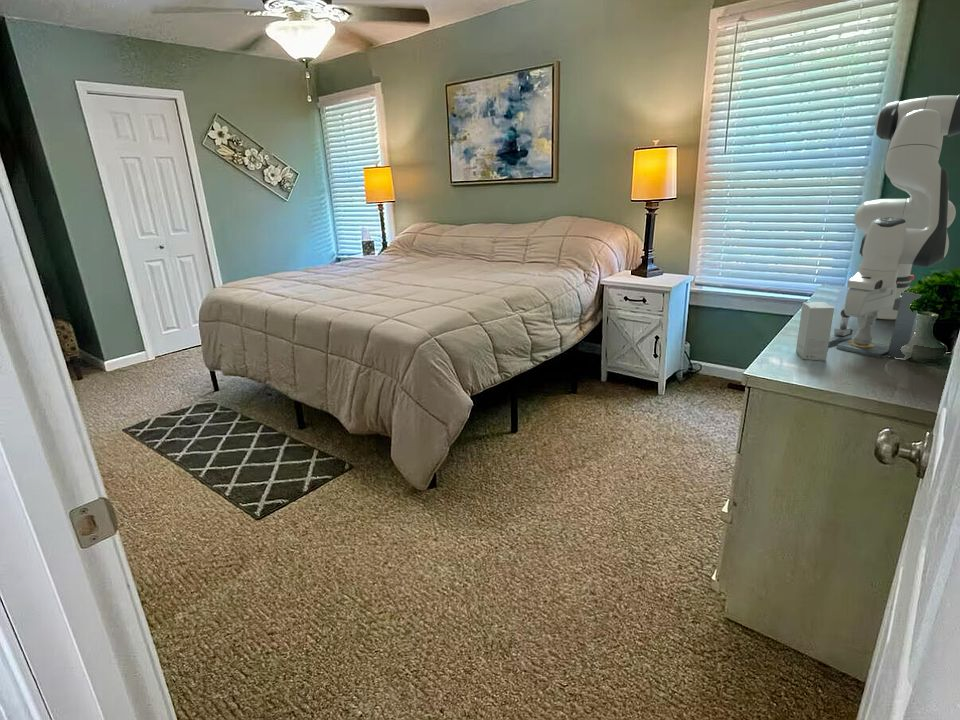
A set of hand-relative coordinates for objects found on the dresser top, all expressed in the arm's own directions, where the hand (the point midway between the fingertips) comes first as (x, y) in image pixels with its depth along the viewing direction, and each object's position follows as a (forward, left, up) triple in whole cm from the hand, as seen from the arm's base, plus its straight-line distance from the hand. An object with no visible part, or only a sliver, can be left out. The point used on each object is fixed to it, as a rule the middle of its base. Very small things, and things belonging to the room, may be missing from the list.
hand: (865, 326), depth 145 cm
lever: (-4, -8, -5) cm, 10 cm away
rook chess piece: (0, 0, -5) cm, 5 cm away
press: (0, +1, -7) cm, 7 cm away
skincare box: (+17, -5, -7) cm, 19 cm away
